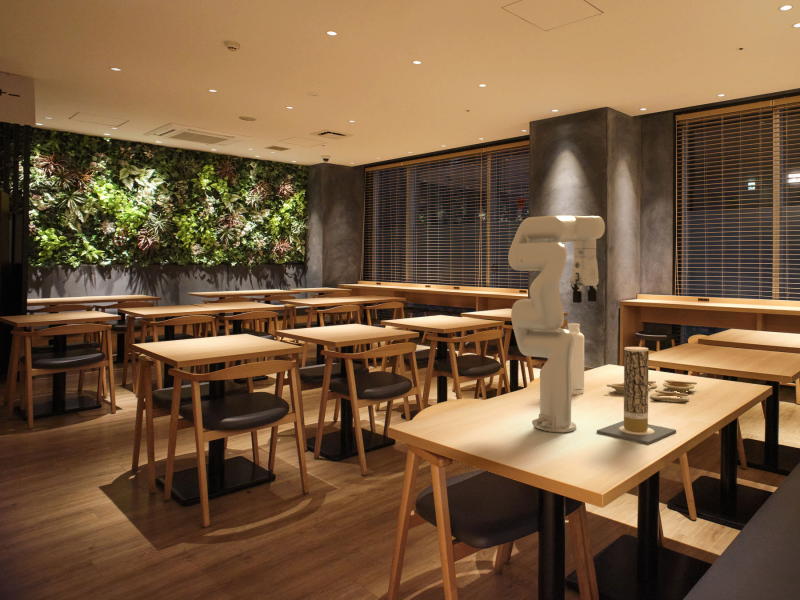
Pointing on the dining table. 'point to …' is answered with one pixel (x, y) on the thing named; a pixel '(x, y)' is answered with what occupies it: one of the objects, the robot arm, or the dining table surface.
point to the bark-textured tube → (636, 388)
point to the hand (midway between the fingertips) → (584, 301)
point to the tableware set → (671, 385)
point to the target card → (637, 433)
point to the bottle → (577, 360)
